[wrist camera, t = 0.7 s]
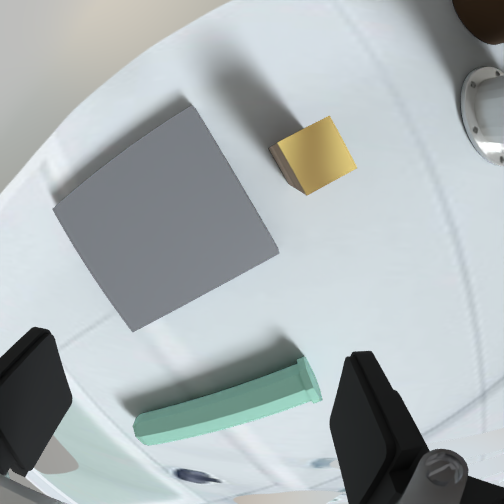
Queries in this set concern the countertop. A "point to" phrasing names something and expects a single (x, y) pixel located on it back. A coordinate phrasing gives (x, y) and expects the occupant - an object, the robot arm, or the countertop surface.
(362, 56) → the countertop surface
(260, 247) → the board
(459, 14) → the olive oil
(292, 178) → the block
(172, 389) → the countertop surface
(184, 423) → the container
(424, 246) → the countertop surface
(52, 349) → the robot arm
